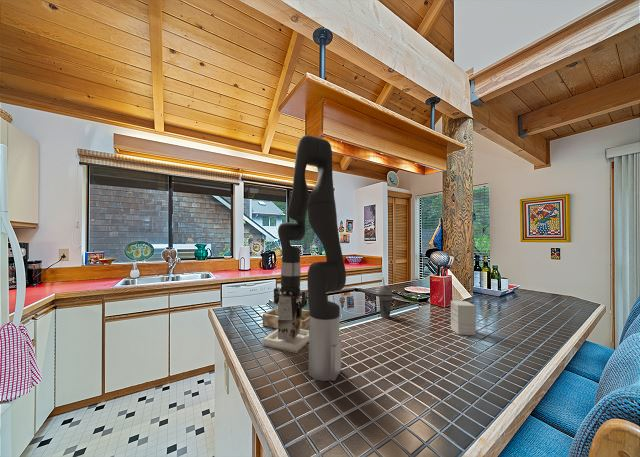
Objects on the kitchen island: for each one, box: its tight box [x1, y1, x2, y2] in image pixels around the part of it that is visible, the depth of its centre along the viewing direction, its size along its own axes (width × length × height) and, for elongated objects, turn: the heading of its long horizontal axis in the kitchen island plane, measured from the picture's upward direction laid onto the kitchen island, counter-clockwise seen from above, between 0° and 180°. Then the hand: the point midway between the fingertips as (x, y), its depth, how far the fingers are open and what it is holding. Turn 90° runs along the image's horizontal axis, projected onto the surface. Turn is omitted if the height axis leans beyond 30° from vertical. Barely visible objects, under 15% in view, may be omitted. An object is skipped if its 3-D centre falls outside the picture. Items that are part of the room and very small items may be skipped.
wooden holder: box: [262, 308, 309, 330], centre depth 112 cm, size 21×14×5 cm, turn 67°
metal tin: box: [274, 305, 278, 316], centre depth 114 cm, size 5×5×7 cm
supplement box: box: [450, 300, 477, 336], centre depth 107 cm, size 7×7×13 cm
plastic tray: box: [262, 328, 309, 354], centre depth 93 cm, size 14×14×2 cm
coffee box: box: [277, 293, 302, 341], centre depth 94 cm, size 9×6×16 cm
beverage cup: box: [377, 277, 393, 319], centre depth 124 cm, size 7×7×20 cm
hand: (289, 316), depth 94 cm, fingers closed on coffee box, 7 cm apart
